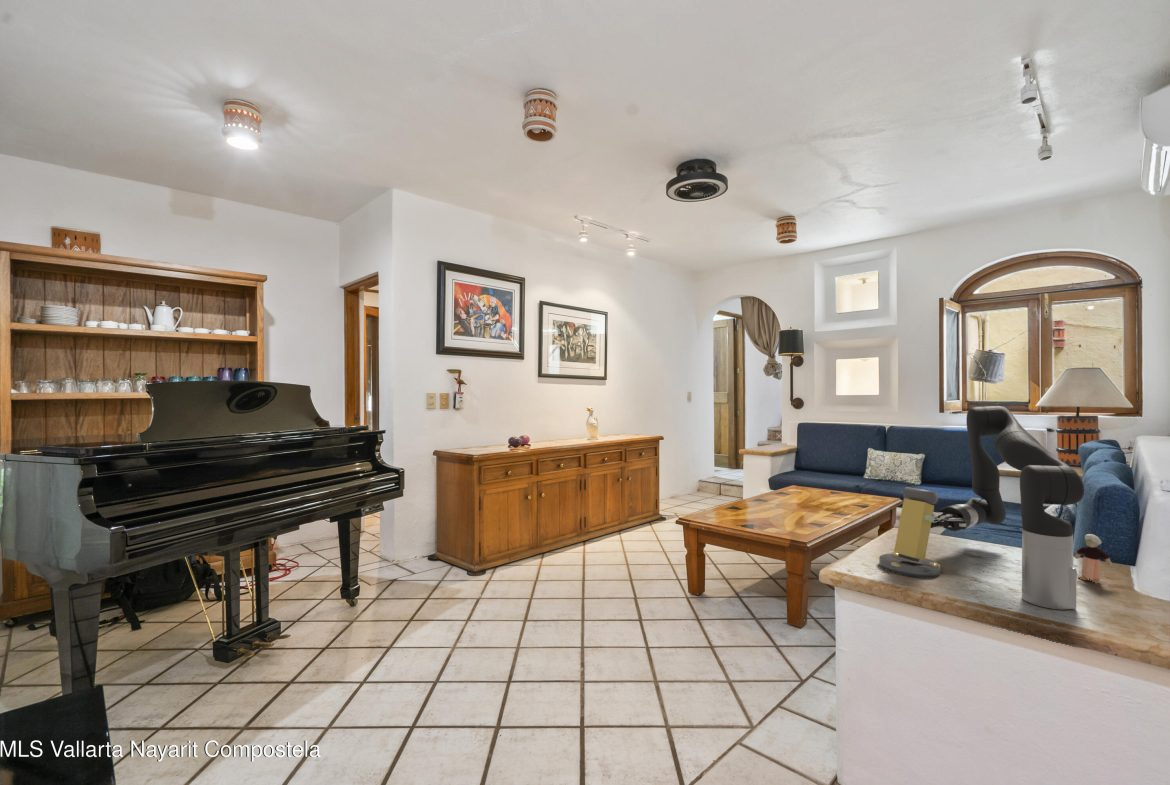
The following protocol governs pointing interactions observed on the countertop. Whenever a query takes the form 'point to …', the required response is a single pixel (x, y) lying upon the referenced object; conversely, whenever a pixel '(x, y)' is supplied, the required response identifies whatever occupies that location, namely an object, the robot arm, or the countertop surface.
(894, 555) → the levelling base
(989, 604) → the countertop surface
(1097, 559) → the grandmother figurine
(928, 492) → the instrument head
